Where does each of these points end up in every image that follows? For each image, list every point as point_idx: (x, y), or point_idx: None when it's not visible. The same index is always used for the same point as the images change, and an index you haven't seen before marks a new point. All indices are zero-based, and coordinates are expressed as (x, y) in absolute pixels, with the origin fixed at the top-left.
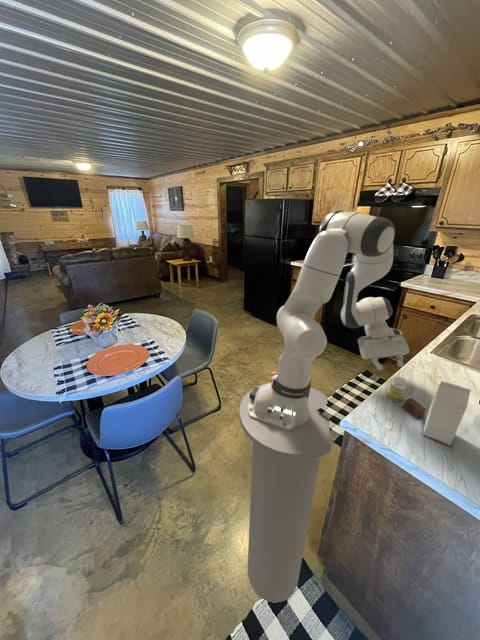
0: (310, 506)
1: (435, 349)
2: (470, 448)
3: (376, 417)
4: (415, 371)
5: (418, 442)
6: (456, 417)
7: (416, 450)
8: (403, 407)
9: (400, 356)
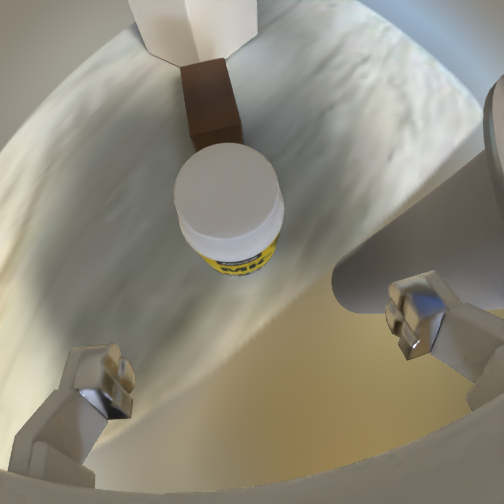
0: (403, 216)
1: None
2: None
3: (399, 110)
4: None
5: (294, 19)
6: None
7: (316, 6)
8: None
9: (41, 453)
